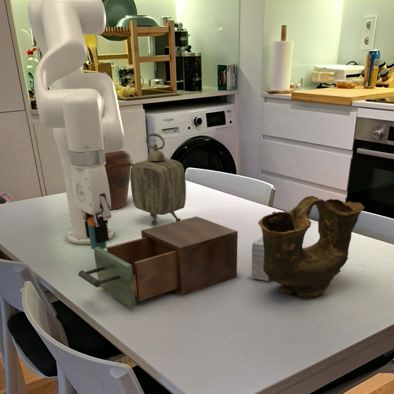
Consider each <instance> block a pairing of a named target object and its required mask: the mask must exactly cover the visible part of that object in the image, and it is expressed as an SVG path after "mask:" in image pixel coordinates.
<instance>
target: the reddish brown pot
mask: <svg viewBox="0 0 394 394" xmlns="http://www.w3.org/2000/svg"><path fill="white" fill-rule="evenodd" d="M105 160H106V164H105V165H104V166H105V170H106V174H107V179H108V185H109V191H110V199H111V209H110V210H115V209H120V208H123V207H125V206H127V204H128V198H129V197H128V196H129V189H130V188H129V187H130V181H131V177H130V175H131V168H132V166H133V164H134V162H133V159H132V156H131V154H130V153H129V152H128V151H127V150H119V151H117V152H110V153H105Z"/></svg>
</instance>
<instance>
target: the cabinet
mask: <svg viewBox="0 0 394 394" xmlns="http://www.w3.org/2000/svg"><path fill="white" fill-rule="evenodd" d="M140 231H141V232H140V233H141V238H144V237H149V238H151V239H153V240H155V241H158V242H160V243H162V244H164V245H166V246H168V247H171V248H173V249H175V250H177V251H178V267H179V288H177V289H174V290H172V291H173V292H174V293H177V294H178V295H180V296H182V297H183V296H185V295H189V294H191V293H194V292H197V291H200V290H203V289H206V288H209V287H211V286H214V285H216V284H220V283H222V282H225V281H228V280H232V279H234V278H237V277H238V237H239V236H238V233H239V231H238V230H235V229H232V228H229V227H227V226H224V225H222V224H219V223H216V222H213V221H211V220H208V219H206V218H204V217H200V216H197V215H196V216H192V217H189V218H188V217H187V218H185V219H181V220H180V221H176V220H175V221H172V222H169V223H165V224H161V225H157V226H153V227H149V228H146V229H142V230H140Z"/></svg>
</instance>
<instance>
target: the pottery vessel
mask: <svg viewBox="0 0 394 394" xmlns="http://www.w3.org/2000/svg"><path fill="white" fill-rule="evenodd" d="M314 206H315V208H316V209H317V212H318V223H317V233H318V235H319V238H318V241H317V242H315V243H313V244H311V245H308V246H306V247H303V244H304V239H305V236H306V233H307V231H308V229H310V228H311V225H312V222H311V220H310V219H309V215H310V214H311V212H312V209H313V207H314ZM364 209H365V206H364V205H363V204H362V203H361V202H358V201H357V202H351V201H350V200H348V201H347V202H346V201H343V200H340V199H338V198H335V199H333V198H328V199H326V200H324V199H322V198H319V197H317V196H315V195H309V196H308V195H307V196H305V197H304V198H303V199H301V200H300V201H299V202H298V204H297V205H296V206H294V208H292V209H291V210H290V211H272V212H271V213H270V214H267V215H264V216H263V217H261V219H259V220H258V221H257V225H258V226H259V227H260V229H261V233H262V237H263V246H264V263H263V268H264V272H265V273H266V274H267V276H268V278H270V279H271V280H272V281H273V282H275V283H277V284H279V285H280V286H279V288H278V291H279V292H281V293H285V294H286V295H291V294H293V293H297V294H298V296H300V297H302V298H304V299H310V298H315V297H316V296H317V297H318V296H322V295H324V293H325V292H326V291H327V288H328V287H330V285H331V282H332V281H333V279H334V278H335V277H336V276H338V274H339V273H341V269H342V268H343V267H344V266H345V264H346V263H347V261H348V260H349V248H350V243H351V240H352V232H353V230H354V229H355V226H356V225H357V223H358V220H359V217H360V214H361V213H362V212H363V210H364ZM271 280H270V281H271Z"/></svg>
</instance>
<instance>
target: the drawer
mask: <svg viewBox="0 0 394 394" xmlns="http://www.w3.org/2000/svg"><path fill="white" fill-rule="evenodd" d="M105 249H106V250H105ZM105 249H102V248H100V247H96V248H94V250H93V255H94V261H95V268H93V269H88V270H85V271H84V270H79V271H78V276H79V278H81V279H83V280H84V281H86V282H87V283H89V284H90V285H92V286H93V287H95V288H100V289H102V290H104V291H105V292H106V293H108V294H109V295H111V296H112V297H114V298H116V299H117V300H118V301H120V302H121V303H123V304H125V305H126V306H128V307H129V308H133V307H134V308H135V307H136V306H137V305H136V300H137V301H138V302H141V301H144V300H147V299H150V298H153V297H155V296H158V295H162V294H164V293H168V292H170V291H173V290H174V289H177V288H179V267H178V251H177V250H175V249H173V248H171V247H168V246H166V245H164V244H162V243H160V242H158V241H155V240H153V239H151V238H149V237H144V238H142V237H141V238H137V239H132V240H128V241H125V242H121V243H117V244H114V245H109V246H106V248H105ZM95 273H96V276H97V278H95V276H94V277H93V276H92V275H91V274H95Z"/></svg>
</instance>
